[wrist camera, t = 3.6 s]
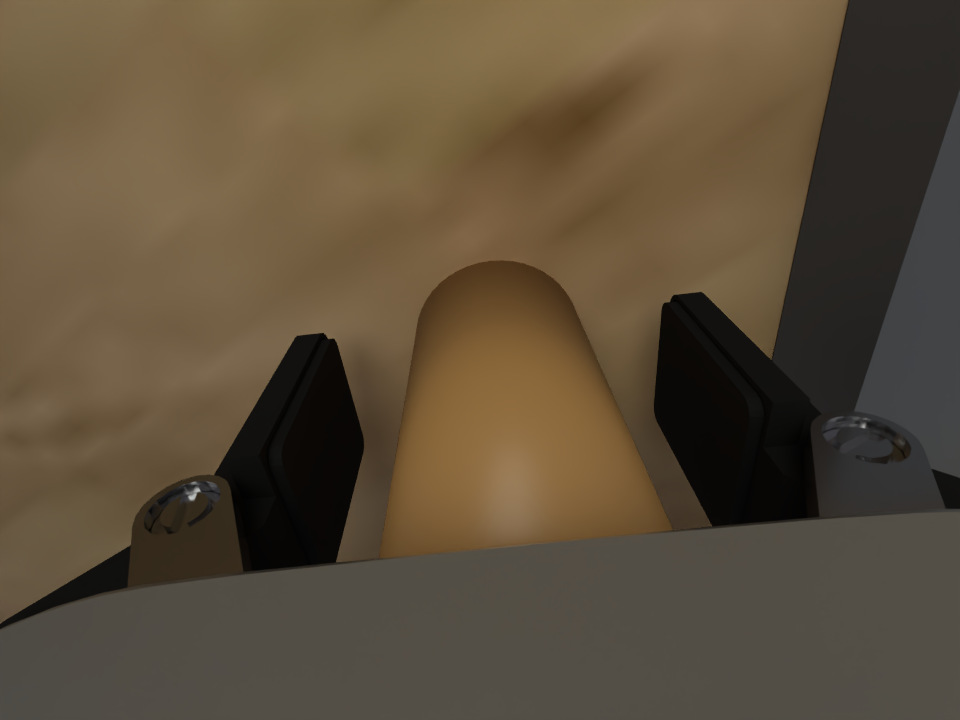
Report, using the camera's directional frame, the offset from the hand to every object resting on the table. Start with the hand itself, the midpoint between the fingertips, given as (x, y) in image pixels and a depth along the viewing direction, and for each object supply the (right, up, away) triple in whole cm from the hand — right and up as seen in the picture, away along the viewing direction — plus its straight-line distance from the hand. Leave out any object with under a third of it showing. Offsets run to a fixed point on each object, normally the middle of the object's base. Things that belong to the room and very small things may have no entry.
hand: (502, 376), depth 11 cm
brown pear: (0, +1, +2) cm, 2 cm away
